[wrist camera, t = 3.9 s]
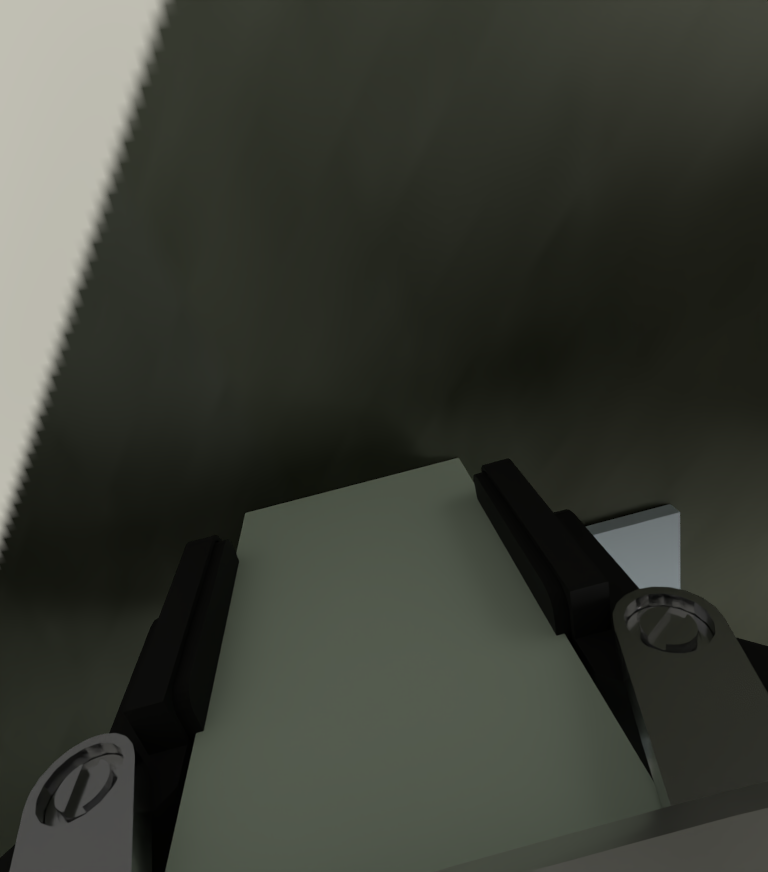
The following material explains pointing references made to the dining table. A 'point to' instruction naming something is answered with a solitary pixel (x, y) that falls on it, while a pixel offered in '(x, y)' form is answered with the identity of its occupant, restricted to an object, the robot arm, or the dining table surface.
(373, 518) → the sage green rectangular block
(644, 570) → the runner mat
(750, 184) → the dining table surface
